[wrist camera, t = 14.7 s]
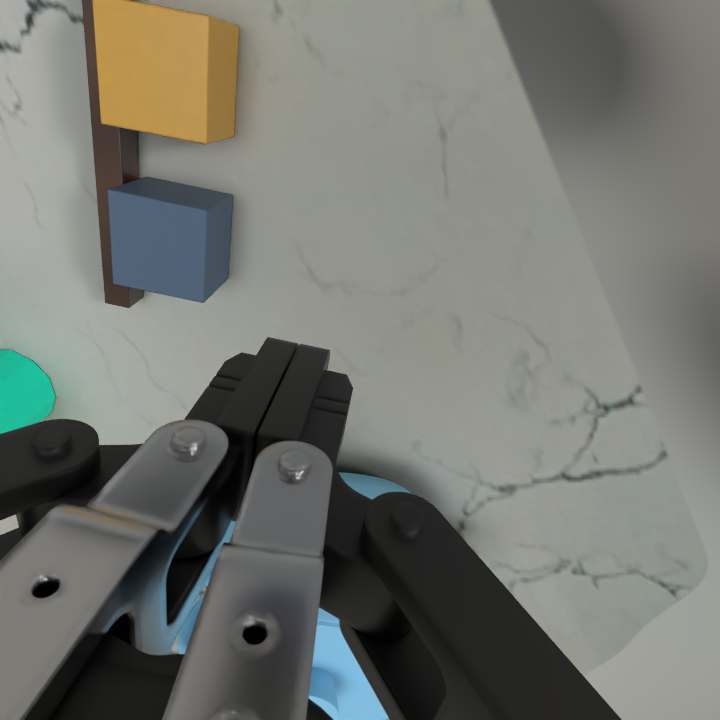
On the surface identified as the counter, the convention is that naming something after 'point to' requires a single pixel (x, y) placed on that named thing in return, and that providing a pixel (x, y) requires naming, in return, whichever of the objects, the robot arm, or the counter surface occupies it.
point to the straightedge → (108, 166)
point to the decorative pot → (328, 641)
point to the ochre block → (166, 70)
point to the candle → (22, 392)
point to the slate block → (170, 238)
